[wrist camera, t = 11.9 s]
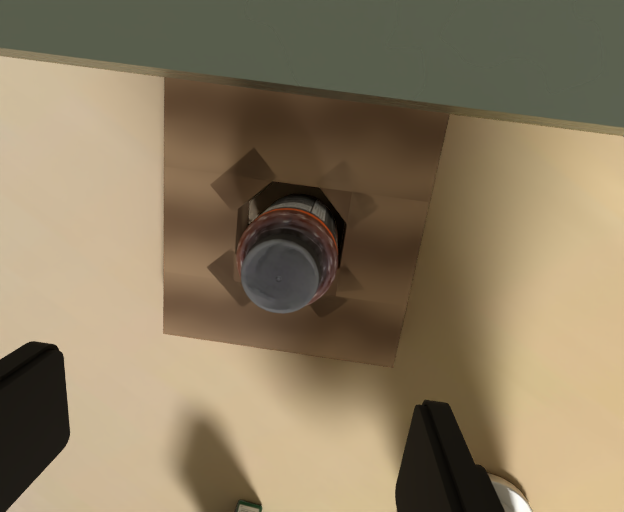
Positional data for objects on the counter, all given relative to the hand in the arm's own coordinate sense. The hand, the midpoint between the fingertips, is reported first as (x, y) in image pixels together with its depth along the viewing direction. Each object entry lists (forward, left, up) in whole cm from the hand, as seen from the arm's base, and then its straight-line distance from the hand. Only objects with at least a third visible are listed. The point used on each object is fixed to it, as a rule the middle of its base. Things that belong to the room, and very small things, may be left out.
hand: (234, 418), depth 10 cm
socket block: (+2, +1, -20) cm, 21 cm away
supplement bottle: (0, 0, -21) cm, 21 cm away
